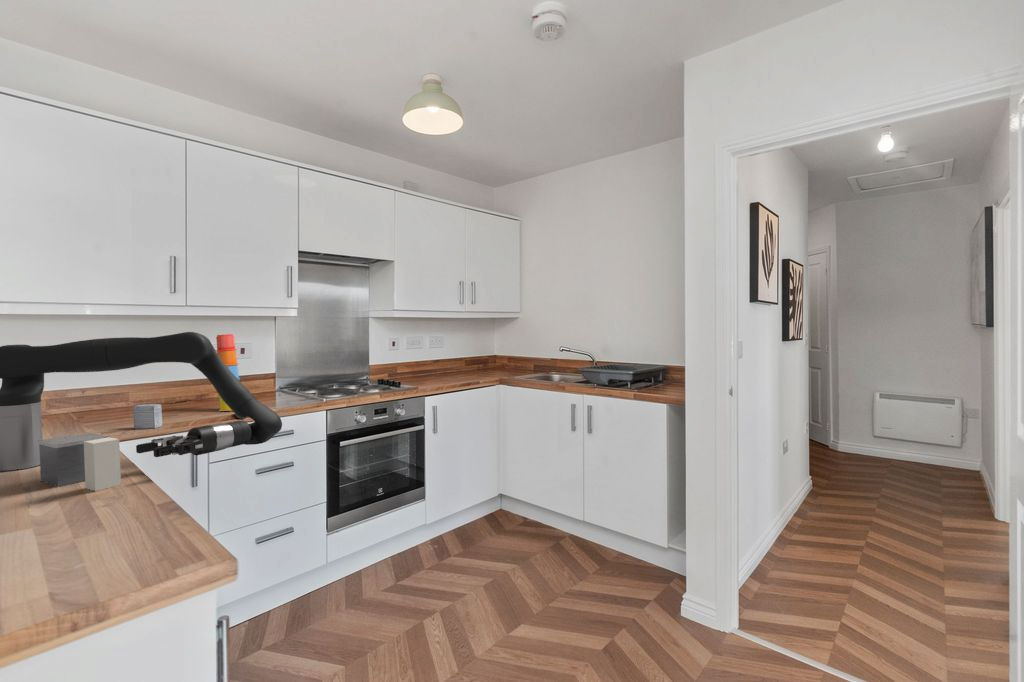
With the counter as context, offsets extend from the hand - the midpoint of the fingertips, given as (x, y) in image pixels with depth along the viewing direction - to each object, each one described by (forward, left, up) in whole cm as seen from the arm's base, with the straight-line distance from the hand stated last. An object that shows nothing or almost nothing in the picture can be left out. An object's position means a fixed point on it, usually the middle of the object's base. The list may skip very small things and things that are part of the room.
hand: (145, 451), depth 127 cm
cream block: (0, -9, -6) cm, 11 cm away
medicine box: (-73, +34, -7) cm, 81 cm away
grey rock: (-63, +64, -7) cm, 90 cm away
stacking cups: (-84, +73, -7) cm, 111 cm away
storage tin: (-15, -9, -6) cm, 19 cm away
